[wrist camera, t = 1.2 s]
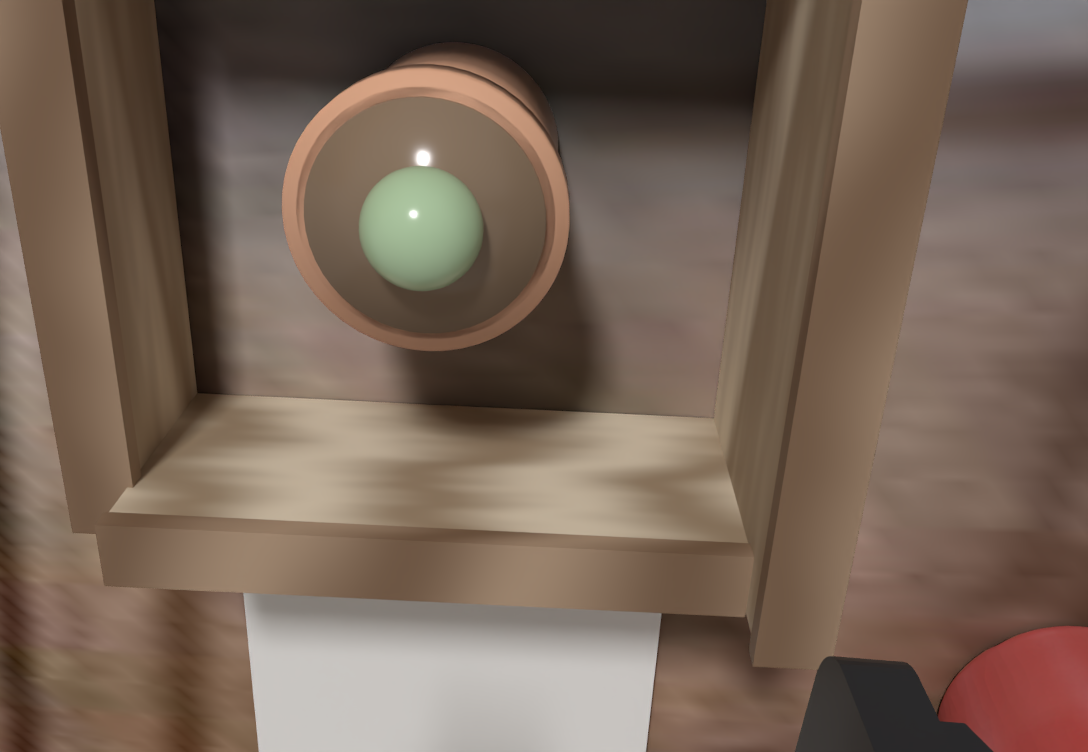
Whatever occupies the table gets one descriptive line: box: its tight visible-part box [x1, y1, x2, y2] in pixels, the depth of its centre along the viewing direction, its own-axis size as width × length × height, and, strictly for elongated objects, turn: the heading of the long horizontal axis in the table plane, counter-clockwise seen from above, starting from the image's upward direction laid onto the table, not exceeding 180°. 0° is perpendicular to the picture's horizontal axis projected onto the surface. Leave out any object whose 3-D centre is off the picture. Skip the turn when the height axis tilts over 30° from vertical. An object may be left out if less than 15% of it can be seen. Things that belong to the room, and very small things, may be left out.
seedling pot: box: [282, 42, 569, 351], centre depth 25 cm, size 6×6×9 cm
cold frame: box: [0, 0, 968, 670], centre depth 24 cm, size 19×19×10 cm
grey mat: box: [243, 593, 662, 752], centre depth 36 cm, size 14×14×1 cm
